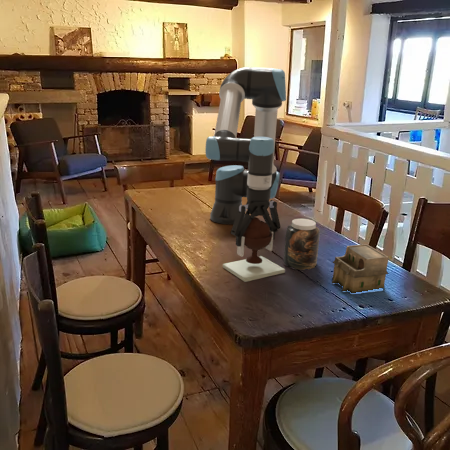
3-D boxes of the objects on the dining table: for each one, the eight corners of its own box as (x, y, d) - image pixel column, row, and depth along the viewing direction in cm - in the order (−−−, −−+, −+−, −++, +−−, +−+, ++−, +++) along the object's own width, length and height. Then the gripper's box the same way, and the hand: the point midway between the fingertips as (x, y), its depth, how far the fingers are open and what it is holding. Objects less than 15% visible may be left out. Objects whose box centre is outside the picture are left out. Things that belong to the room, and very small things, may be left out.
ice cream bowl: (248, 269, 156) (251, 224, 152) (232, 256, 166) (234, 214, 161) (276, 264, 161) (280, 220, 156) (259, 252, 170) (262, 211, 166)
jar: (276, 259, 175) (280, 218, 170) (305, 255, 179) (309, 215, 174) (294, 271, 164) (298, 229, 160) (323, 267, 169) (328, 226, 164)
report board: (261, 259, 174) (261, 255, 173) (284, 272, 163) (284, 269, 163) (222, 267, 165) (222, 263, 165) (244, 281, 155) (245, 278, 155)
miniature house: (362, 273, 166) (367, 241, 162) (389, 291, 154) (394, 257, 150) (323, 277, 161) (327, 244, 158) (347, 296, 149) (352, 261, 145)
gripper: (234, 193, 146) (231, 262, 153) (295, 186, 159) (289, 250, 165) (221, 187, 152) (218, 254, 159) (280, 181, 165) (275, 243, 171)
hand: (254, 252), depth 162 cm, fingers closed on ice cream bowl, 11 cm apart
